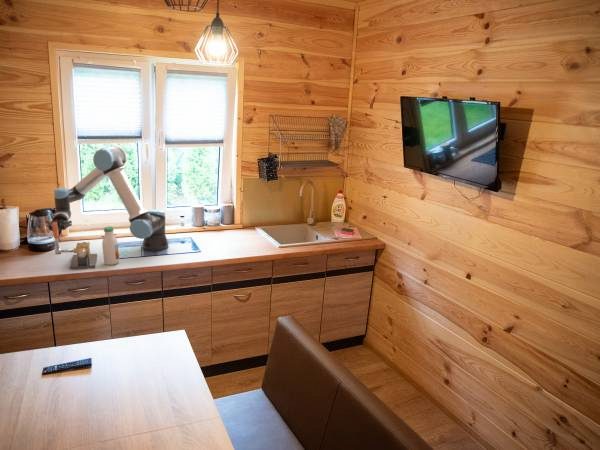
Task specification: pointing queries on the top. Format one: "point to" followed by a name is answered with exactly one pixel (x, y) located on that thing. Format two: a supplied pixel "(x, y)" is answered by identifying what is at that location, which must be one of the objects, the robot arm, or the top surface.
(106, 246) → the milk bottle
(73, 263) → the valve stand
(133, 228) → the robot arm
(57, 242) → the valve lever
